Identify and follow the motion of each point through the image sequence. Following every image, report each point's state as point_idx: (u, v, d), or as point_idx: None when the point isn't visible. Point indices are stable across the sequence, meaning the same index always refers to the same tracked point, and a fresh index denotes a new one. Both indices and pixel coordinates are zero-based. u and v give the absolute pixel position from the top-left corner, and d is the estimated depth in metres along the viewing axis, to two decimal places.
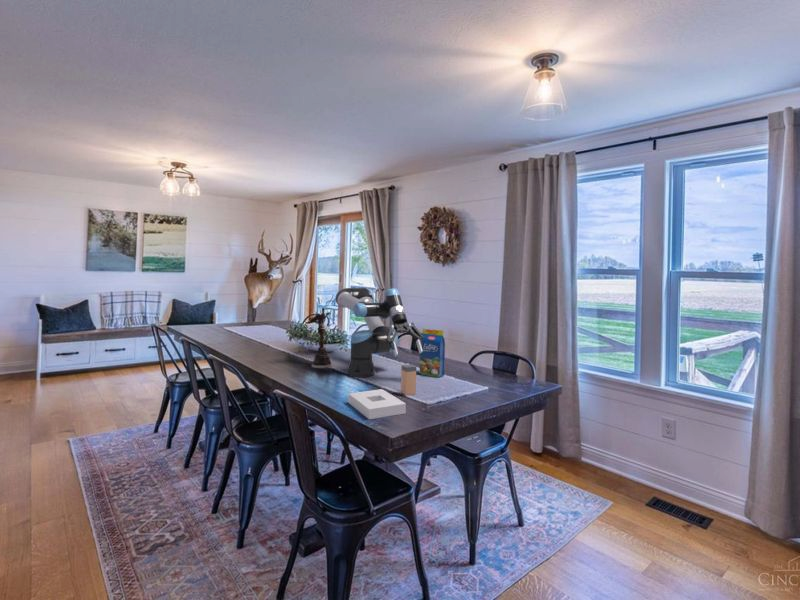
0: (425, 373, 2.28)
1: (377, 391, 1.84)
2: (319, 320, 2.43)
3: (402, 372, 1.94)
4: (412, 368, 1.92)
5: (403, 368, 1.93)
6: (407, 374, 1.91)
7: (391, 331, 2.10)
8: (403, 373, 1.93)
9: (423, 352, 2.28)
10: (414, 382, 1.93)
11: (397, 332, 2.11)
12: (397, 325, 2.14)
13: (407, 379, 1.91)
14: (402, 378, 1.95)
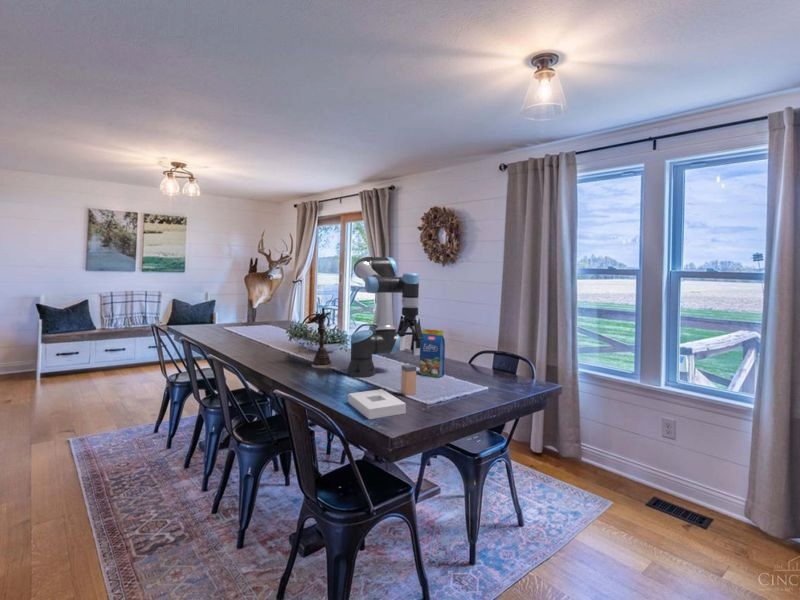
0: (425, 373, 2.28)
1: (377, 391, 1.84)
2: (319, 320, 2.43)
3: (402, 372, 1.94)
4: (412, 368, 1.92)
5: (403, 368, 1.93)
6: (407, 374, 1.91)
7: (400, 324, 1.98)
8: (403, 373, 1.93)
9: (423, 352, 2.28)
10: (414, 382, 1.93)
11: (403, 327, 1.96)
12: (405, 319, 1.95)
13: (407, 379, 1.91)
14: (402, 378, 1.95)
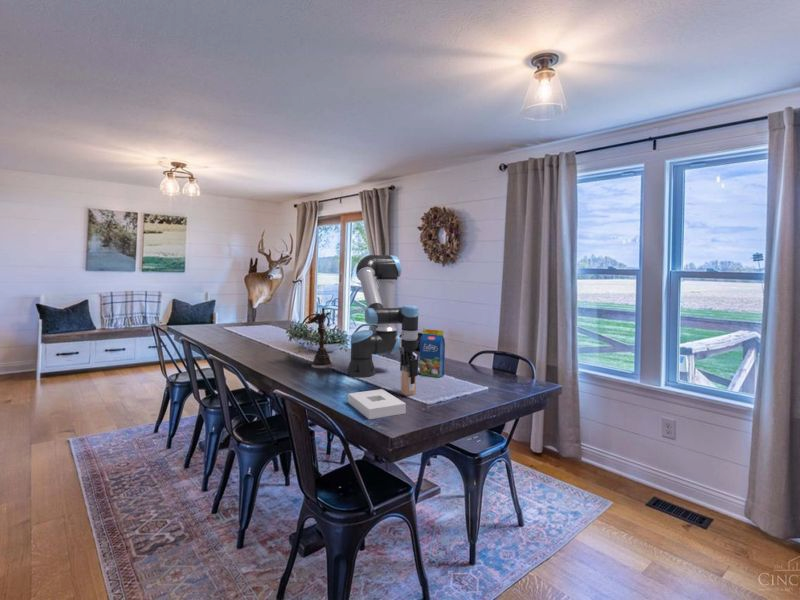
0: (425, 373, 2.28)
1: (377, 391, 1.84)
2: (319, 320, 2.43)
3: (402, 372, 1.94)
4: None
5: (403, 368, 1.93)
6: (407, 374, 1.91)
7: (401, 359, 1.98)
8: (403, 373, 1.93)
9: (423, 352, 2.28)
10: None
11: (404, 360, 1.95)
12: (404, 350, 1.95)
13: (407, 378, 1.91)
14: (402, 378, 1.95)
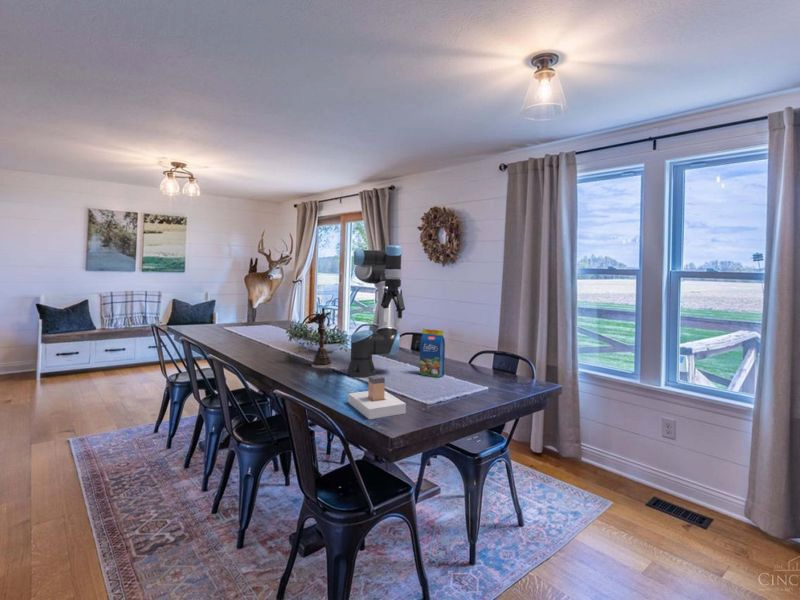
0: (425, 373, 2.28)
1: None
2: (319, 320, 2.43)
3: (369, 384, 1.74)
4: (380, 380, 1.71)
5: (370, 379, 1.73)
6: (374, 386, 1.70)
7: (384, 296, 2.04)
8: (370, 385, 1.73)
9: (423, 352, 2.28)
10: (382, 395, 1.72)
11: (386, 298, 2.01)
12: (388, 290, 2.00)
13: (374, 391, 1.71)
14: (369, 391, 1.74)
